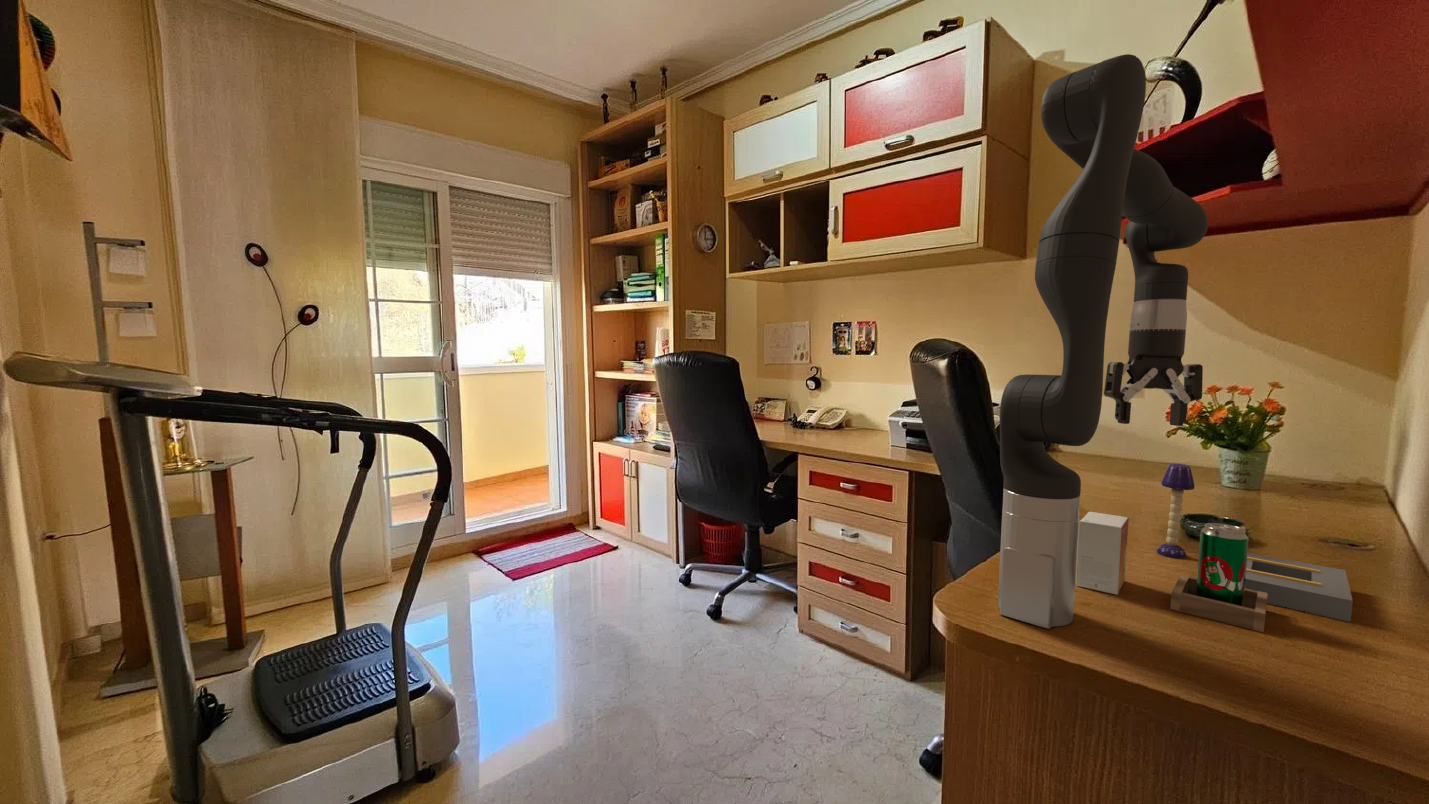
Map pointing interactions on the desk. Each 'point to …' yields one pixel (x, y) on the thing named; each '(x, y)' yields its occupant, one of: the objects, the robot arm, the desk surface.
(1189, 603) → the wooden square frame
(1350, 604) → the socket
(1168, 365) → the robot arm
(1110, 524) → the small box
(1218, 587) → the soda can
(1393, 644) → the desk surface
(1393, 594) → the desk surface
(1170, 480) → the toy lamp
